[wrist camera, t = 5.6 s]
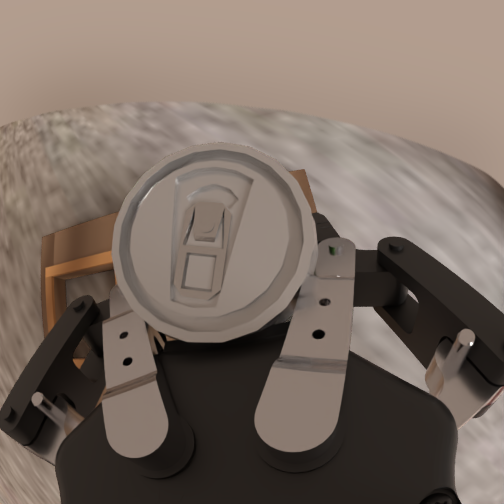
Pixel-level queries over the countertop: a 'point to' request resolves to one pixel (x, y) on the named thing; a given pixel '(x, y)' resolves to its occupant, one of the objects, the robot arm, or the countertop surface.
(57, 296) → the socket board
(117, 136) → the countertop surface
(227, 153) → the beer can
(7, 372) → the countertop surface
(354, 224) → the countertop surface
